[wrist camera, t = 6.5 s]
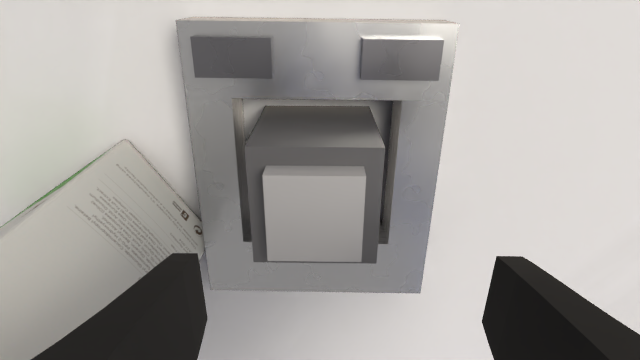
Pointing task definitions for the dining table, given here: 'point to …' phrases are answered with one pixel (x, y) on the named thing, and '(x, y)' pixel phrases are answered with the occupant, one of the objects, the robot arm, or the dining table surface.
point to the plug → (315, 184)
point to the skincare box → (86, 248)
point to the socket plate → (316, 83)
